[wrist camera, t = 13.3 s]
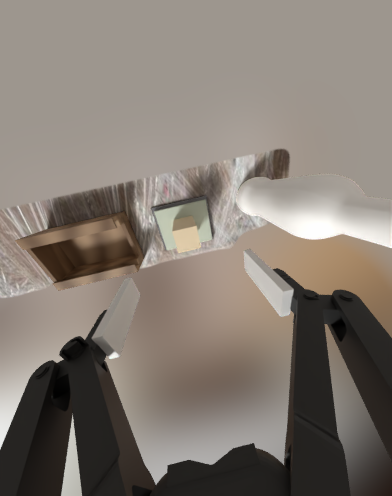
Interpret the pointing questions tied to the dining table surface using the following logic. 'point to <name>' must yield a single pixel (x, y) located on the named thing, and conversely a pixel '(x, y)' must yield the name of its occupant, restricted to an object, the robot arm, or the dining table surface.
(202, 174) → the dining table surface
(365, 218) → the bottle
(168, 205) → the mat
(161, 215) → the lid
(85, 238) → the walnut box
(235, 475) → the robot arm
